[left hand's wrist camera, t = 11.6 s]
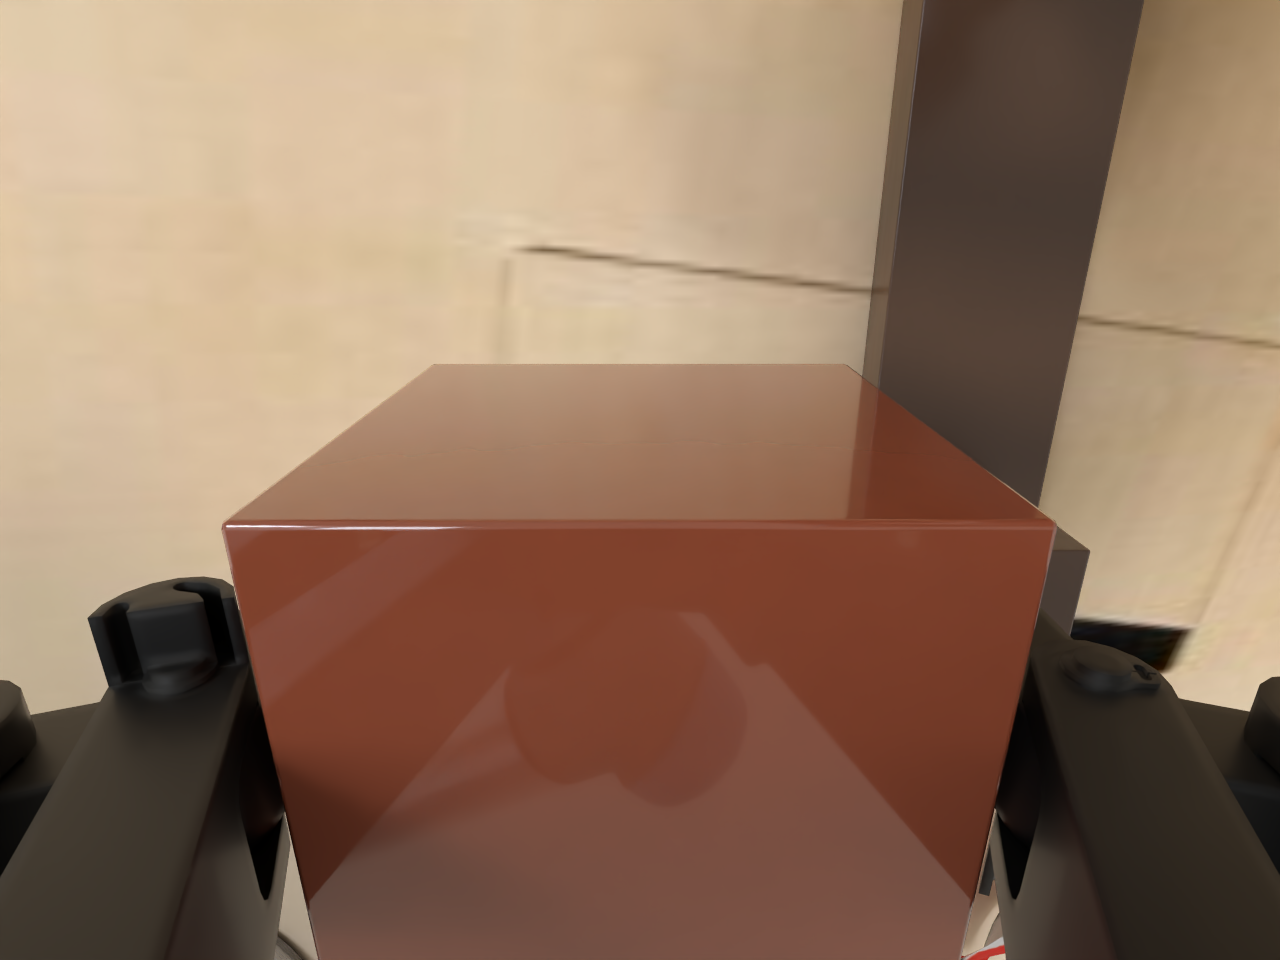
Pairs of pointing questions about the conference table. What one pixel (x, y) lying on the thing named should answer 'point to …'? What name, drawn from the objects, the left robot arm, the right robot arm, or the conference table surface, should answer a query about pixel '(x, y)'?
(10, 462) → the conference table surface
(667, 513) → the cap block
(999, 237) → the walnut stand
